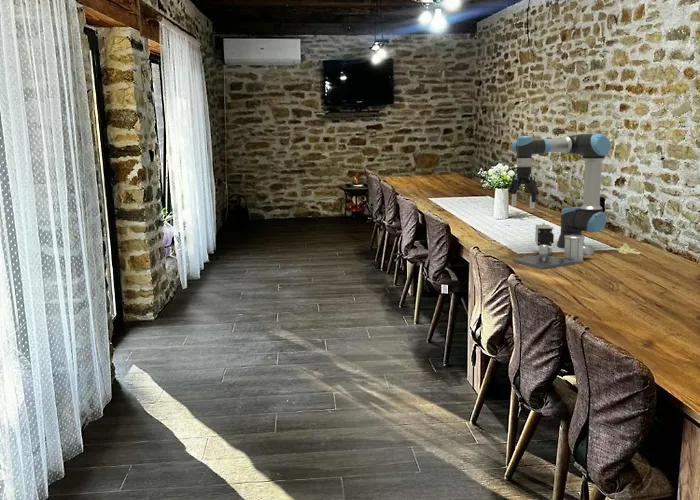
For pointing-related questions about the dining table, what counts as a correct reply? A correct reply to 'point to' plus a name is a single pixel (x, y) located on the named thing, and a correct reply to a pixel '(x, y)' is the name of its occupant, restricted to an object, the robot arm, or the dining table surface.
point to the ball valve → (544, 236)
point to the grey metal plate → (543, 260)
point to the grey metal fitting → (576, 248)
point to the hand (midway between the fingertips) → (522, 207)
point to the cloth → (627, 249)
